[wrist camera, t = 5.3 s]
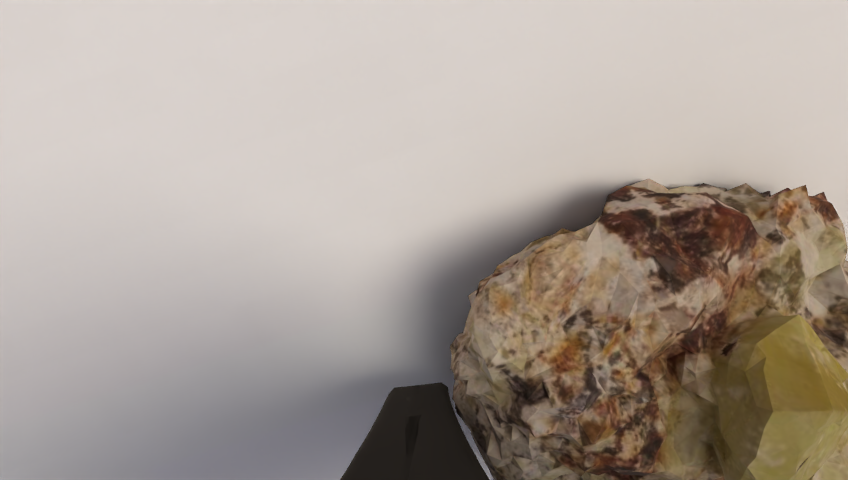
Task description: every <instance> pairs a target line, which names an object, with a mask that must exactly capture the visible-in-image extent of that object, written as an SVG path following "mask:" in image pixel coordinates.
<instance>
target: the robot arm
mask: <svg viewBox="0 0 848 480" xmlns="http://www.w3.org/2000/svg"><path fill="white" fill-rule="evenodd" d="M340 480H489V478H488V477H487V475H486V473H485V472H484V470H483V468H482V467H481V465H480V463H479V461H478V459H477V458H476V456H475V454H474V452H473V450H472V448H471V447H470V445H469V443H468V441H467V439H466V437H465V435H464V433H463V431H462V429H461V427H460V424H459V422H458V420H457V418H456V415H455V413H454V410H453V407H452V404H451V401H450V397H449V392H448V387H446V386H445V385H444V384H442V383H434V384H425V385H416V386H407V387H398V388H394V389H393V390H392V391H391V392H390V393H389V395H388V397H387V399H386V401H385V403H384V405H383V407H382V409H381V411H380V413H379V415H378V417H377V419H376V420H375V422H374V424H373V426H372V428H371V429H370V431H369V433H368V435H367V437H366V438H365V440H364V442H363V443H362V445H361V447H360V448H359V450H358V452H357V453H356V455H355V457H354V458H353V460H352V462H351V463H350V465H349V467H348V468H347V470H346V471H345V473H344V475H343V476H342V478H341V479H340Z"/></svg>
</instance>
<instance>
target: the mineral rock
mask: <svg viewBox="0 0 848 480" xmlns="http://www.w3.org/2000/svg"><path fill="white" fill-rule="evenodd" d="M846 253H847V243H846V238H845V232H844V227H843V223H842V222H841V220H840V218H839V216H838V214H837V212H836V211H835V209H834V207H833V205H832V204H831V203H830V202H828V201H827V199H826V196H825V194H824V192H822V193H820V194H817V195H815V196H808V193H807V188H806V185H804V186H801V187H798V188H796V189H793V190H790V189H789V188H786V189H784V190H782V191H780V192H778V193H776V194H774V195H772V196H771V195H770V191H767V192H764V193H761V194H760V193H758V192H757V191H756V190H754V189H753V188H752V187H750V186H749V185H748V184H746V183H745V184H743V185H740V186H738V187H735V188H733V189H730V190H727V189H726V188H718V187H714V186H711V185H708V184H704V183H703V184H701V185H699V186H697V187H689V186H683V187H678V188H674V189H669V190H668V189H667V188H665V187H664V186H662V185H660V184H658V183H656V182H654V181H652V180H650V179H646V180H644V181H641V182H638V183H636V184H633V185H630V186H625V187H623V188H621V189H619V190H617V191H615V192H613V193H612V194H610V195H608V198H607V201H606V204H605V207H604V210H603V213H602V215H601V216H600V217H599V218H597V220H596V221H595V222H594V223H593V224H592V225H589V226H587V227H585V228H582V229H580V230H578V231H575V232H573V231H570V230H567V229H564V228H562V229H560V230H559V231H558V232H556V233H555V234H553V235H549V236H545V237H543V238H540V239H538V240H535V241H533V242H531V243H529V244H528V245H527V246H526V247H525V248H524V249H523V250H522V251H521V252H520V253H517V254H514V255H513V256H511V257H510V258H508V259H507V260H506V261H504V262H503V263H501V264H499V265H498V266H497V268H496V269H495V271H494V273H493V274H492V275H490V276H488V277H486V278H485V279H483V280H481V281H480V282H479V285H478V289H477V290H476V291H474V292H473V293H472V294H470V295H469V296H468V297H469V301H470V304H471V309H470V311H469V314H468V317H467V320H466V324H465V328H464V331H463V333H459V335H458V336H457V337H456V338H455V340H454V341H453V343H452V344H451V346H450V349H451V354H452V359H451V370H452V371H453V373H454V380H456V381H455V384H454V389H453V398H452V399H453V401H454V402H455V409H456V411H457V413H458V415H459V416H460V417H461V418H462V420H463V421H464V422H465V424H466V425H467V426H468V428H469V429H470V430H471V434H472V436H473V439H474V441H475V443H476V445H477V447H478V449H479V451H480V453H481V455H482V457H483V459H484V461H485V463H486V465H487V466H488V468H489V470H490V472H491V474H492V476H493V478H494V480H848V261H846V260H845V258H846Z"/></svg>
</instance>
